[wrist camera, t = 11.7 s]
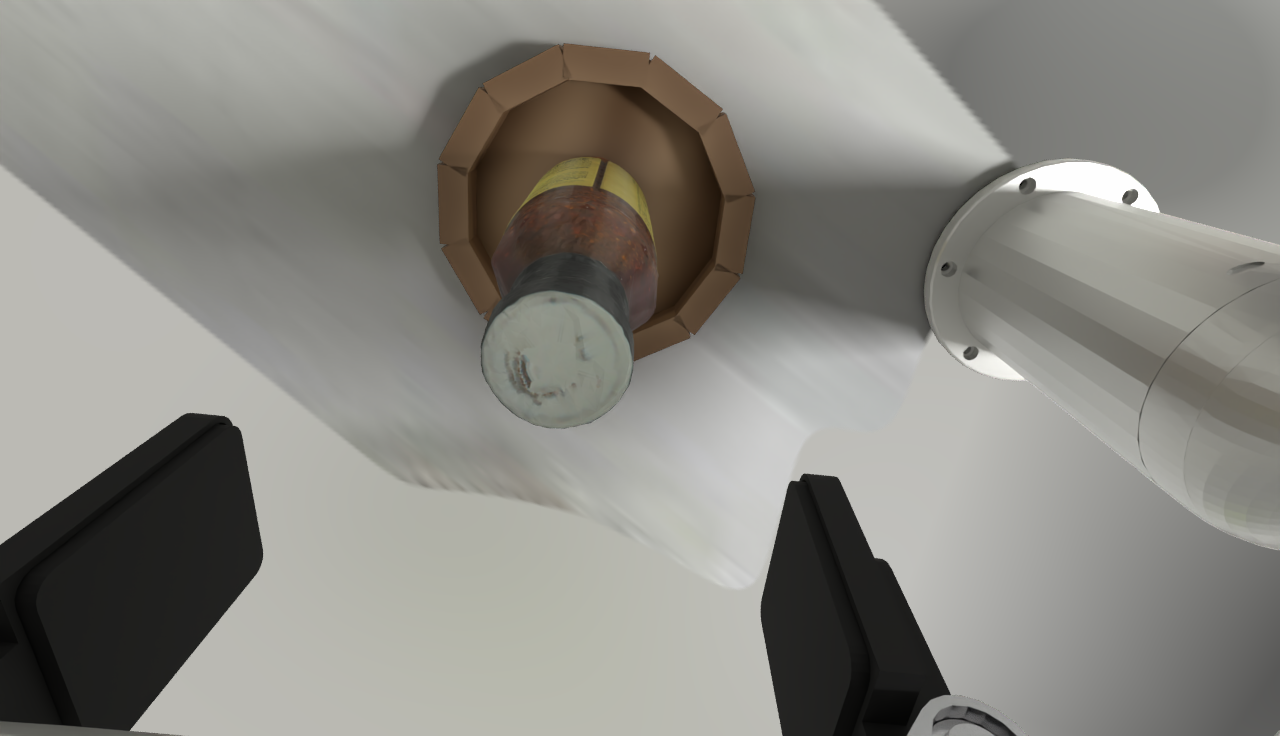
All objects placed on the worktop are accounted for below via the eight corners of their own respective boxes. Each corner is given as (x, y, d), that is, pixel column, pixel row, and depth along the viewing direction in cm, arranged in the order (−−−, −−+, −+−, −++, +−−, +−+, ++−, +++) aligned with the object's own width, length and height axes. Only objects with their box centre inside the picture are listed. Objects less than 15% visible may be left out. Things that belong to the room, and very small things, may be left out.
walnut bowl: (768, 67, 32) (777, 66, 30) (720, 356, 39) (725, 375, 37) (448, 32, 32) (433, 29, 30) (455, 331, 38) (443, 348, 36)
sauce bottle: (521, 249, 36) (390, 427, 17) (551, 135, 33) (433, 205, 15) (634, 285, 36) (620, 491, 18) (671, 176, 34) (697, 291, 16)
